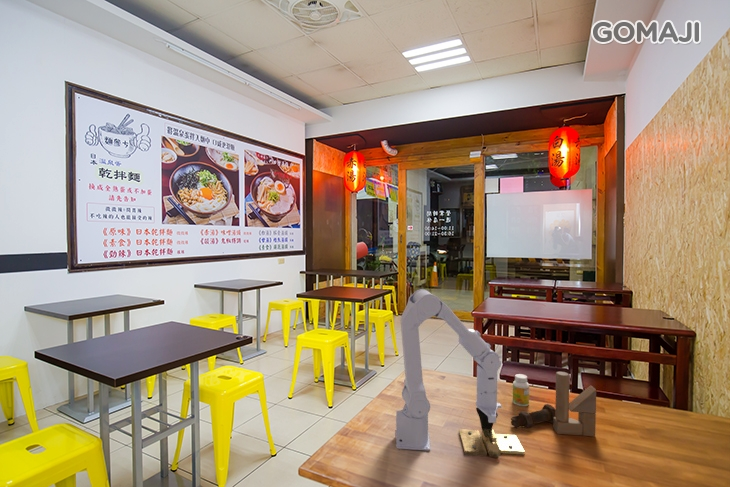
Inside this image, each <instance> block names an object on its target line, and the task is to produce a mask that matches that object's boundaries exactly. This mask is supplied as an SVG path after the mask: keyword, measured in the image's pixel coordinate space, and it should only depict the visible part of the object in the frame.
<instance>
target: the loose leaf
mask: <svg viewBox="0 0 730 487" xmlns="http://www.w3.org/2000/svg"><path fill="white" fill-rule="evenodd" d="M481 438H482V441H483V444H484V446H485V449H487V448H486V445H485V442H486V440H487V439H489V438H493V439H495V440H496V442H497V444H498V446H499V449H500V451H501V454H509V455H526V453H525V452H526V451H525V450H524V448H523V446H522V444H521V442H520V440H519V439H518V437H517V435H516V434H502V433H495V431H494V428H492V429H482V428H481Z"/></svg>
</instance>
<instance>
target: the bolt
mask: <svg viewBox="0 0 730 487" xmlns="http://www.w3.org/2000/svg"><path fill="white" fill-rule="evenodd" d="M555 408H556V407H554V406H553V405H551V404H548V403H547V404H544V405H543V407H542V408H541V409H540V410H536V411H532V412H527V411H525V410H522V411H520V412H519V413H518V415H515V416H512V417H511V418H510V424H511V425H512V426H513V427H514V428H516V429H518V428H521V427H523V428H525V429H530V428H532V426H533V425H534V424H538V423H539V424H540V423H542V422H549V423H550V422H551V423H550V424H552V425H553V417H555Z"/></svg>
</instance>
